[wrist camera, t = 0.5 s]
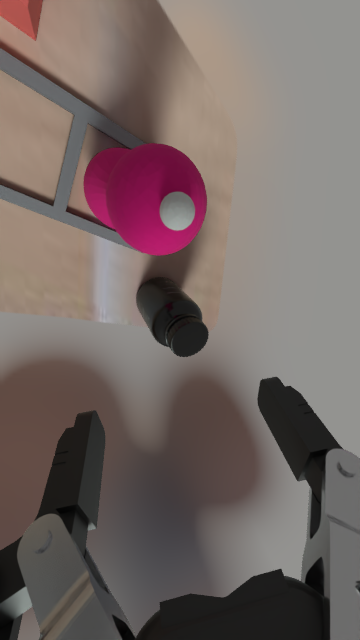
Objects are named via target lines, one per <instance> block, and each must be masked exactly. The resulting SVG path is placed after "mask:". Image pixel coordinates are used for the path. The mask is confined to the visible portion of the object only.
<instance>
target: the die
mask: <svg viewBox="0 0 360 640" xmlns="http://www.w3.org/2000/svg"><path fill="white" fill-rule="evenodd" d="M42 1H43V0H0V16H2V17H3V18H4V19H6V20H7V21H9V22H10V23H11V24H13V25H14V26H16V27H17V28H18V29H20V30H21V31H23V32H24V33H25V34H27V35H28V36H30V37H31V38H32V39H34V40H35V41H36V37H37V31H38V25H39V19H40V13H41V7H42Z"/></svg>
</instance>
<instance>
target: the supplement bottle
mask: <svg viewBox="0 0 360 640" xmlns="http://www.w3.org/2000/svg"><path fill="white" fill-rule="evenodd" d="M136 303H137V307H138V309H139V311H140V313H141V315H142V317H143V319H144V320H145V322H146V324H147V326H148V328H149V329H150V331H151V333H152V335H153V336H154V338H155V339H156V340H157V342H159V343H160V344H162V345H164V346H167V347H170V348H171V350H172V351H173V353H174V354H176V355H177V356H180V357H181V356H182V357H188V356H191V355H194V354H195V353H198V351H200V350H201V349H202V348H203V347H204V346H205V344H206V342H207V339H208V329H207V327H206V325H205V324H204V323H203V322H202V313H201V310H200V308H199V307H198V305H197V304H196V303H195V302H194V301H193V300H192V299H191V298H190V297H189V296H188V295H187V294H185V293H184V292H183V291H182V290H181V289H180V288H179V287H178V286H177V285H176V284H175V283H174V282H173V281H171V280H169V279H167V278H163V277H158V278H153V279H151V280H149V281H147V282H146V283H144V284H143V285H142V287H141V288H140V289H139V291H138V294H137V298H136Z"/></svg>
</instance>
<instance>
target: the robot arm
mask: <svg viewBox="0 0 360 640" xmlns="http://www.w3.org/2000/svg"><path fill="white" fill-rule="evenodd" d="M258 406H259V409H260V412H261V413H262V415H263V417H264V419H265V421H266V423H267V425H268V427H269V428H270V430H271V432H272V434H273V436H274V438H275V440H276V442H277V443H278V445H279V447H280V449H281V451H282V453H283V455H284V457H285V459H286V461H287V462H288V464H289V466H290V468H291V470H292V472H293V474H294V476H295V477H296V479H297V481H302V480H307V482H308V484H309V486H310V490H309V506H308V523H307V539H306V545H305V550H304V554H303V561H302V574H301V581H299V580H297V579H294V578H291V577H288V576H284V575H283V572H282V570H281V569H278V570H275V571H271V572H268V573H264V574H260V575H257V576H253V577H251V578H250V579H249V580H248V581H246V582H245V583H244V584H242V585H241V586H240V587H239V588H237V589H236V590H235V591H233V592H232V593H231V594H230V595H228V596H227V597H224V598H221V597H213V596H204V595H197V594H188V595H184V596H181V597H177V598H174V599H170V600H166V601H163V602H160V610H159V611H157V612H156V613H155V614H154V615H153V616H152V617H151V618H150V619H149V620H148V621H147V622H146V624H145V625H144V626H143V627H142V629H141V630H140V632H139V633H138V635H137V636H136V634H135V632H134V630H133V628H132V627H131V625H130V623H129V621H128V619H127V617H126V615H125V614H124V612H123V610H122V609H121V607H120V605H119V604H118V602H117V601H116V599H115V598H114V596H113V595H112V593H111V591H110V589H109V588H108V586H107V584H106V582H105V581H104V578H103V576H102V575H101V573H100V571H99V569H98V567H97V565H96V563H95V562H94V560H93V558H92V556H91V555H90V552H89V550H88V548H87V547H86V540H87V532H88V530H91V529H96V528H97V518H98V508H99V498H100V488H101V479H102V469H103V459H104V449H105V431H104V428H103V425H102V423H101V421H100V419H99V416H98V414H97V412H96V411H95V410H94V411H89V412H83V413H79V414H78V415H77V417H76V420H75V425H74V427H72V428H67V429H66V430H65V431H64V433H63V434H62V436H61V438H60V439H59V441H58V444H57V448H56V451H55V456H54V459H53V462H52V467H51V470H50V474H49V477H48V480H47V484H46V488H45V492H44V495H43V499H42V502H41V506H40V509H39V513H38V515H37V517H36V519H35V521H34V522H33V523H32V524H31V525H30V526H29V528H28V529H27V530H26V532H25V533H24V535H23V536H22V537H20V538H19V539H18V540H17V541H15V542H14V543H12V544H10V545H9V546H7V547H5V548H4V549H2V550H0V640H17V638H18V634H19V629H20V624H21V619H22V614H23V613H24V612H25V611H26V610H28V609H29V608H30V607H32V606H33V609H34V612H35V615H36V618H37V621H38V624H39V628H40V638H39V640H360V458H358V457H357V456H356V455H354V454H353V453H351V452H349V451H346V450H344V449H343V448H342V447H341V446H340V445H339V444H338V443H337V441H336V440H335V439H334V437H333V436H332V435H331V433H330V432H329V431H328V429H327V428H326V427H325V426H324V424H323V423H322V422H321V420H320V419H319V418H318V416H317V415H316V414H315V413H314V411H313V410H312V408H311V407H310V406H309V405H308V403H307V402H306V400H305V399H304V398H303V396H302V395H301V394H300V393H299V392H298V391H296V390H295V389H294V388H292V387H291V386H286V387H285V386H284V385H283V383H282V382H281V380H280V379H279V378H278V377H272V378H267V379H262V380H261V381H260V387H259V393H258Z"/></svg>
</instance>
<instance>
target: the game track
mask: <svg viewBox="0 0 360 640" xmlns="http://www.w3.org/2000/svg"><path fill="white" fill-rule="evenodd" d="M0 70H2V71H4V72H5V73H7V74H9V75H10V76H12V77H13V78H15V79H17V80H18V81H20V82H22V83H23V84H25V85H26V86H28V87H30V88H31V89H33V90H34V91H36V92H38V93H39V94H41V95H43V96H44V97H46V98H47V99H49V100H51V101H52V102H54V103H56V104H57V105H59V106H60V107H62V108H64V109H65V110H67V111H69V112H70V113H72V114H73V115H74V119H73V124H72V128H71V132H70V137H69V141H68V145H67V150H66V154H65V158H64V162H63V167H62V171H61V175H60V180H59V184H58V188H57V193H56V197H55V201H54V206H52V205H50V204H48V203H45V202H43V201H40V200H38V199H35V198H33V197H30V196H28V195H26V194H23V193H21V192H18V191H16V190H13V189H11V188H8V187H6V186H3V185H1V184H0V199H3V200H5V201H8V202H11V203H13V204H16V205H18V206H21V207H24V208H26V209H29V210H32V211H34V212H37V213H39V214H42V215H45V216H47V217H50V218H52V219H55V220H58V221H60V222H63V223H66V224H68V225H71V226H73V227H76V228H79V229H81V230H84V231H86V232H89V233H92V234H94V235H97V236H100V237H102V238H105V239H107V240H110V241H113V242H115V243H118V244H120V245H123V246H126V247H128V248H131V249H134V248H133V247H132V246H130V245H129V244H127V243H126V242H125V241H124V240H123V239H122V238H121V236H120V235H119V234H118V233H117V232H116V231H114V230H111V229H109V228H106V227H104V226H101V225H99V224H97V223H94V222H92V221H89V220H87V219H84V218H82V217H79V216H77V215H74V214H72V213H70V212H67V211H66V208H67V204H68V200H69V196H70V192H71V188H72V184H73V180H74V176H75V172H76V168H77V164H78V160H79V156H80V152H81V148H82V144H83V140H84V136H85V132H86V128H87V124H90V125H91V126H93V127H95V128H96V129H98V130H99V131H101V132H103V133H104V134H106V135H107V136H109V137H111V138H112V139H114V140H116V141H117V142H119V143H120V144H122V145H124V146H125V147H127V148H129V149H130V150H132V149H133V148H135V147H137V146H140V145H143V144H146V143H144V142H143V141H141V140H140V139H138V138H137V137H135V136H134V135H132V134H131V133H129V132H128V131H126V130H125V129H123V128H122V127H120V126H118V125H117V124H115V123H114V122H112V121H111V120H109V119H108V118H106V117H105V116H103V115H102V114H100V113H99V112H97V111H96V110H94V109H93V108H91V107H89V106H88V105H86V104H85V103H83V102H82V101H80V100H79V99H77V98H76V97H74V96H73V95H71V94H70V93H68V92H67V91H65V90H64V89H62V88H60V87H59V86H57V85H56V84H54V83H53V82H51V81H50V80H48V79H47V78H45V77H44V76H42V75H41V74H39V73H38V72H36V71H35V70H33V69H31V68H30V67H28V66H27V65H25V64H24V63H22V62H21V61H19V60H18V59H16V58H15V57H13V56H12V55H10V54H9V53H7V52H6V51H4V50H2V49H1V48H0ZM134 250H136V249H134ZM136 251H138V250H136ZM139 252H140V251H139ZM141 253H143V252H141Z"/></svg>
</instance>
